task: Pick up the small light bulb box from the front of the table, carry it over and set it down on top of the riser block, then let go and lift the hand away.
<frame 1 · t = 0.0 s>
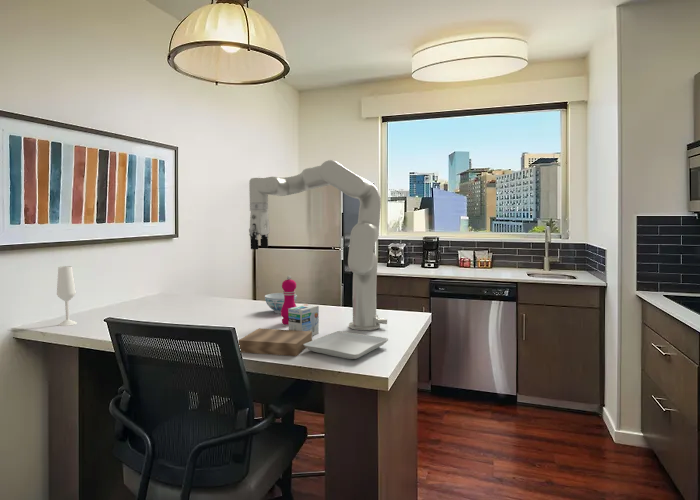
hand: (259, 248, 184), 31 cm above the worktop, tool pointing down, fingers open, 9 cm apart
light bulb box: (303, 335, 164), on the worktop
riser block: (276, 347, 149), on the worktop
champagne flute: (67, 324, 183), on the worktop
chinaware: (281, 312, 207), on the worktop
salad plate: (346, 351, 146), on the worktop
pepper mill: (289, 323, 184), on the worktop
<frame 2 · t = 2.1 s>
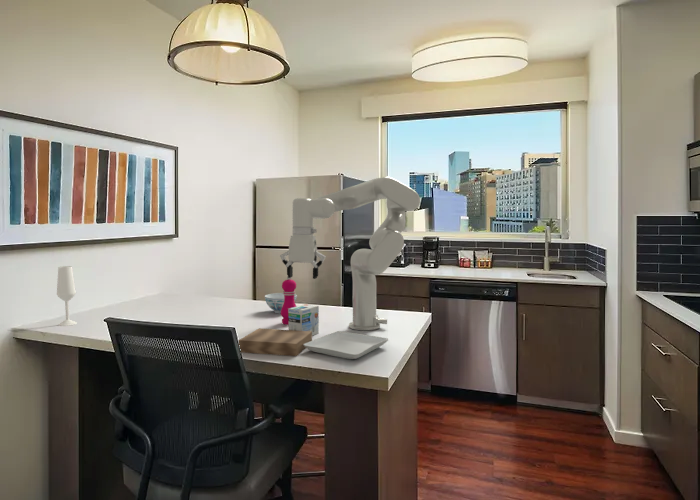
hand: (302, 277, 163), 22 cm above the worktop, tool pointing down, fingers open, 9 cm apart
nothing on the worktop moved.
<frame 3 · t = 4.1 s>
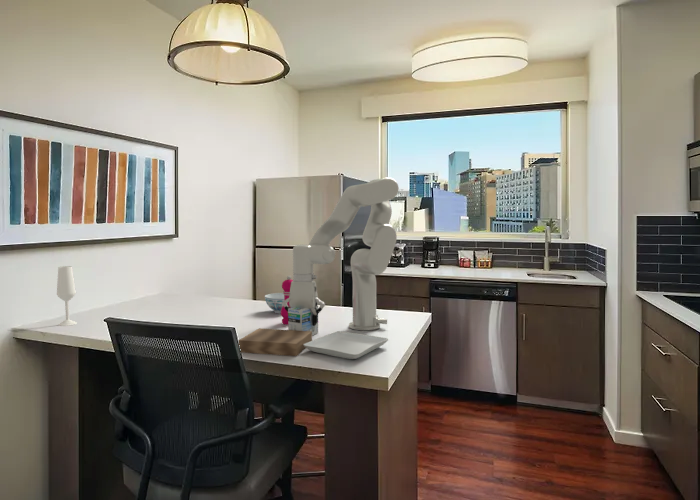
hand: (303, 324, 164), 4 cm above the worktop, tool pointing down, fingers closed on light bulb box, 8 cm apart
light bulb box: (303, 335, 164), on the worktop, touching gripper
everything else where it was.
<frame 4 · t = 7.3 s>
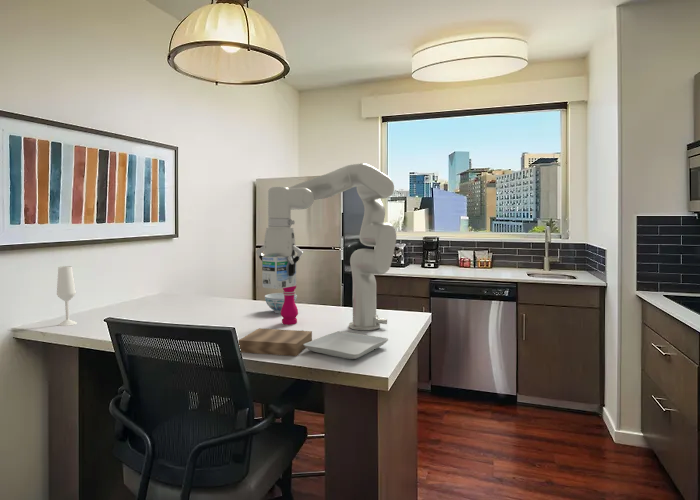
hand: (279, 274, 149), 24 cm above the worktop, tool pointing down, fingers closed on light bulb box, 8 cm apart
light bulb box: (279, 287, 150), point 20 cm above the worktop, touching gripper
everything else where it was.
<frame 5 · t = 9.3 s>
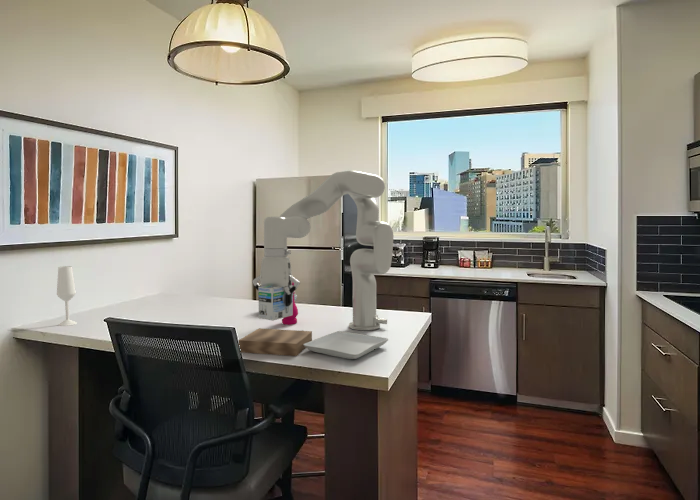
hand: (276, 304, 148), 15 cm above the worktop, tool pointing down, fingers closed on light bulb box, 8 cm apart
light bulb box: (276, 317, 148), point 10 cm above the worktop, touching gripper
everything else where it was.
when the fingers open (9 cm above the worktop, at t = 10.9 s): light bulb box drops 1 cm, resting on riser block.
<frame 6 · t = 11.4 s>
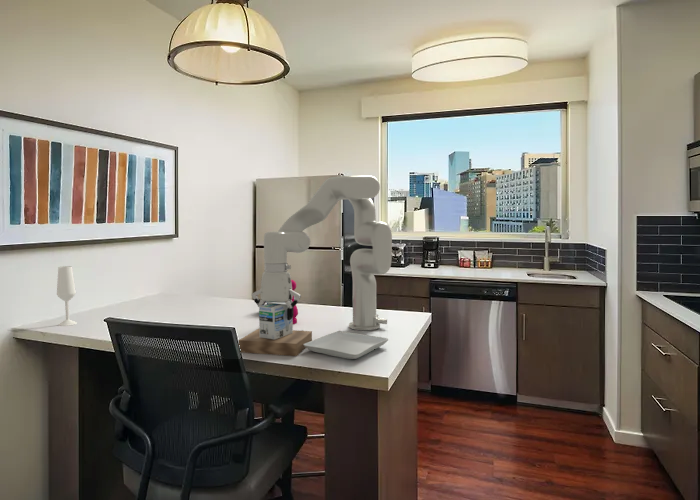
hand: (276, 318, 148), 10 cm above the worktop, tool pointing down, fingers open, 9 cm apart
light bulb box: (276, 335, 149), point 4 cm above the worktop, touching riser block
everything else where it was.
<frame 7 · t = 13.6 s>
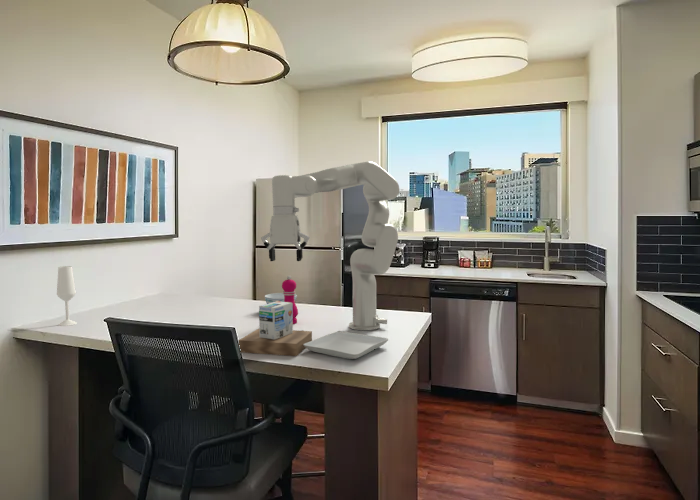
hand: (285, 260, 153), 29 cm above the worktop, tool pointing down, fingers open, 9 cm apart
nothing on the worktop moved.
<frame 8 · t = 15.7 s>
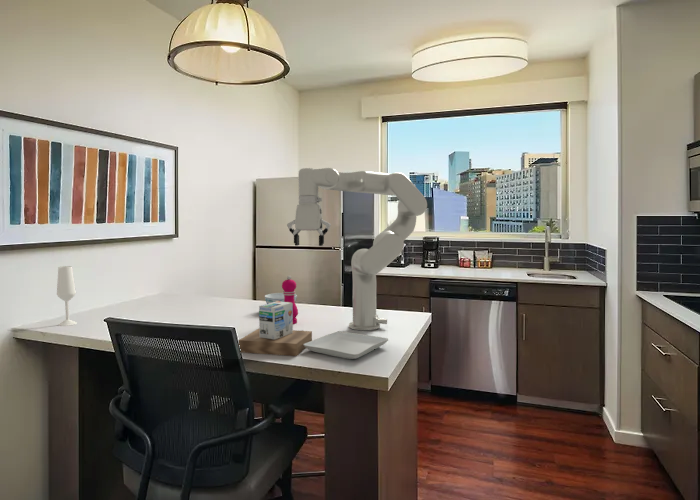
hand: (308, 245, 169), 33 cm above the worktop, tool pointing down, fingers open, 9 cm apart
nothing on the worktop moved.
at the end: light bulb box inside the target area on the riser block (0.4 cm from its centre), point 3.8 cm above the riser block's base; light bulb box tilted 0°; the gripper is holding nothing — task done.
